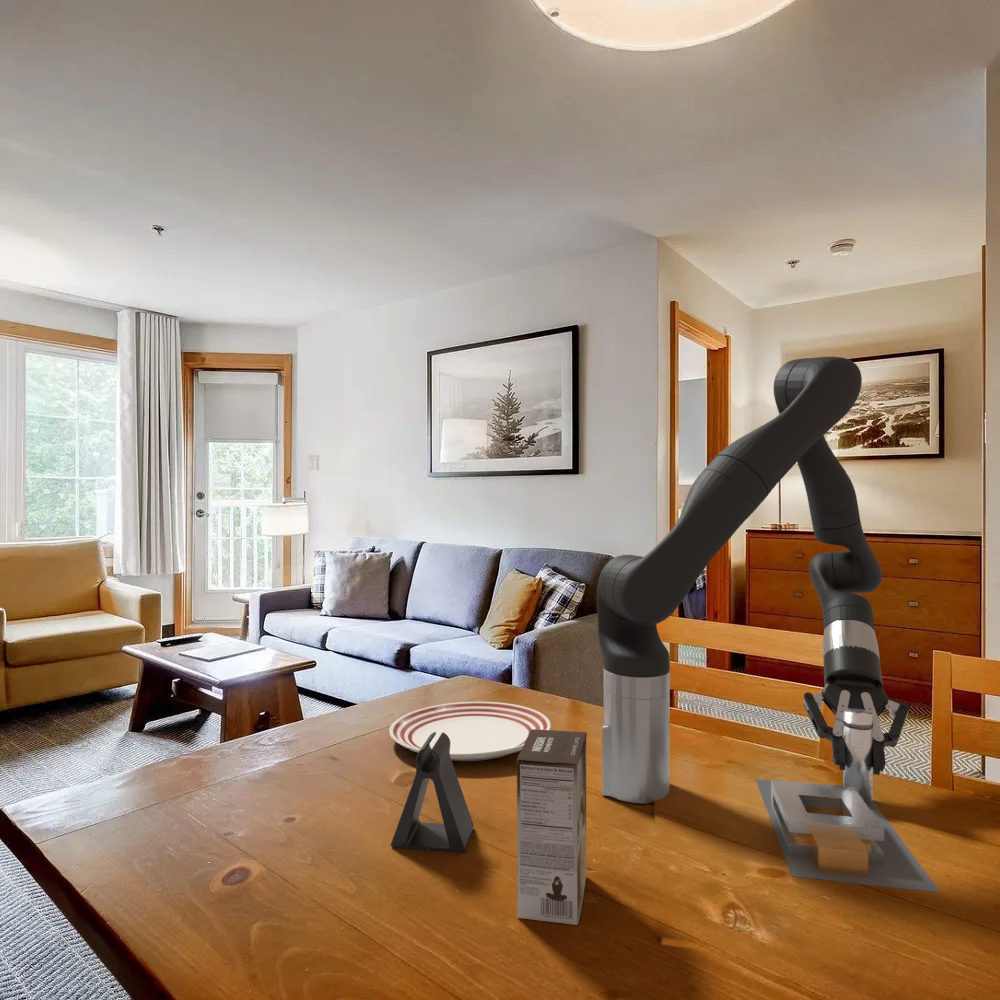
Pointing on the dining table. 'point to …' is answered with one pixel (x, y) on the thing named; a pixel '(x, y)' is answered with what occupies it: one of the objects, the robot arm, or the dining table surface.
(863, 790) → the pin
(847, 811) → the clevis
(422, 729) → the dinner plate
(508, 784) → the dining table surface
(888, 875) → the mat
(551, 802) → the coffee box
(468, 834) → the dark triangular stand
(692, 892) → the dining table surface
